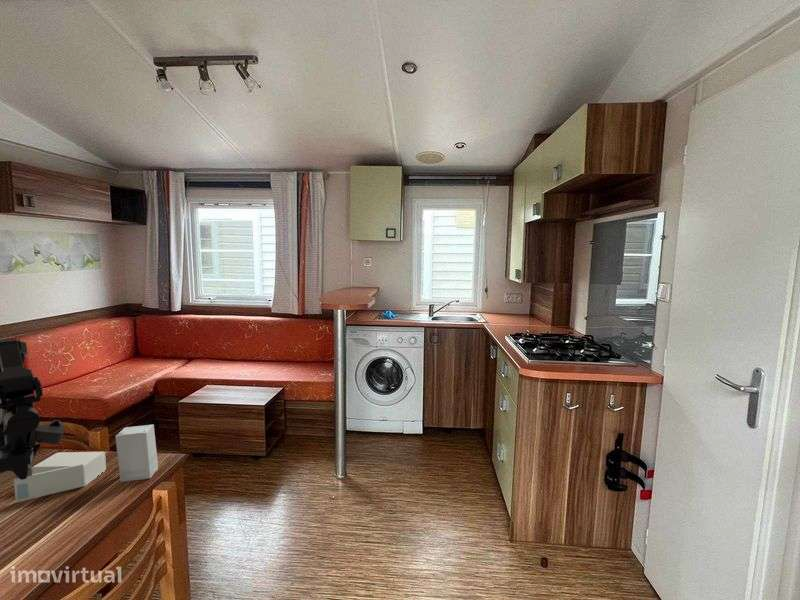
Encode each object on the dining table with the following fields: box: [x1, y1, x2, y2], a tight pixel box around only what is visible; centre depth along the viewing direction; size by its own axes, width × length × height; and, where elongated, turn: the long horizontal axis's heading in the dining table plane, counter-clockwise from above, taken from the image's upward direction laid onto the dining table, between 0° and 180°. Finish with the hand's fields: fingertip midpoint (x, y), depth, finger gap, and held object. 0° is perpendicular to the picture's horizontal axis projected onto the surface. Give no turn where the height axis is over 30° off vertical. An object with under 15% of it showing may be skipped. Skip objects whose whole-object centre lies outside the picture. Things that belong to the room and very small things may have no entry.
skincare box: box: [115, 424, 159, 483], centre depth 109 cm, size 8×6×15 cm
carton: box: [32, 451, 107, 487], centre depth 108 cm, size 14×8×6 cm, turn 94°
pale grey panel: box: [13, 464, 86, 503], centre depth 100 cm, size 14×1×9 cm, turn 122°
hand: (24, 477), depth 97 cm, fingers closed
